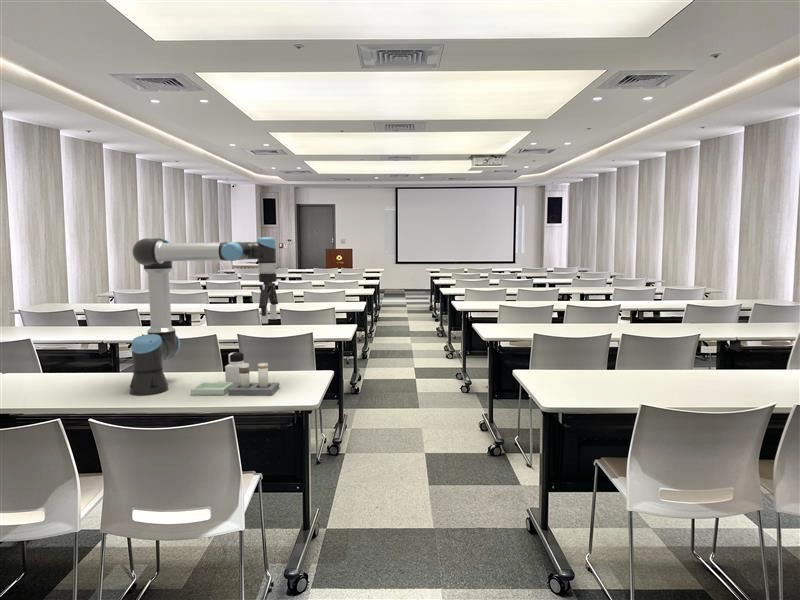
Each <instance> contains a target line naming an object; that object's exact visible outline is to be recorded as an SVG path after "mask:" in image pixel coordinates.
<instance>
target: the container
mask: <svg viewBox="0 0 800 600" xmlns="http://www.w3.org/2000/svg"><path fill="white" fill-rule="evenodd" d="M244 357H245V356H244V353H243V352H239V351H235V352H230V353H228V364H227V365H225V366H224V369H225V370H224V371H225V372H224V373H225V382H231V383H234V384H237V383H240V373H239V364H240V363H245V359H244Z"/></svg>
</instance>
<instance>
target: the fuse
mask: <svg viewBox="0 0 800 600" xmlns="http://www.w3.org/2000/svg"><path fill="white" fill-rule="evenodd" d="M257 375H258V383H259V388H269V385H268V383H269V363H268V362H260V363H257Z"/></svg>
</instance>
